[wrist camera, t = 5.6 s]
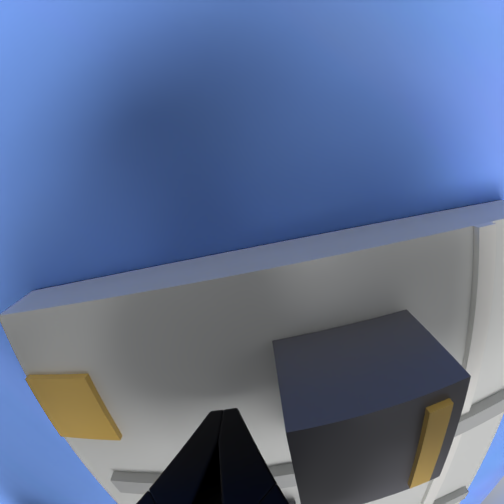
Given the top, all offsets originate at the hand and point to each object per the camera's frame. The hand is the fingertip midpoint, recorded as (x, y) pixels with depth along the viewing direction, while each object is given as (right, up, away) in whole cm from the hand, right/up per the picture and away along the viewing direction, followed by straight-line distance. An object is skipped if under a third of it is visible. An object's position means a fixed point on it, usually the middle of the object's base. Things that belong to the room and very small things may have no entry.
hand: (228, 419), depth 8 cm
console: (+4, -7, +6) cm, 10 cm away
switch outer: (+4, +1, +1) cm, 4 cm away
